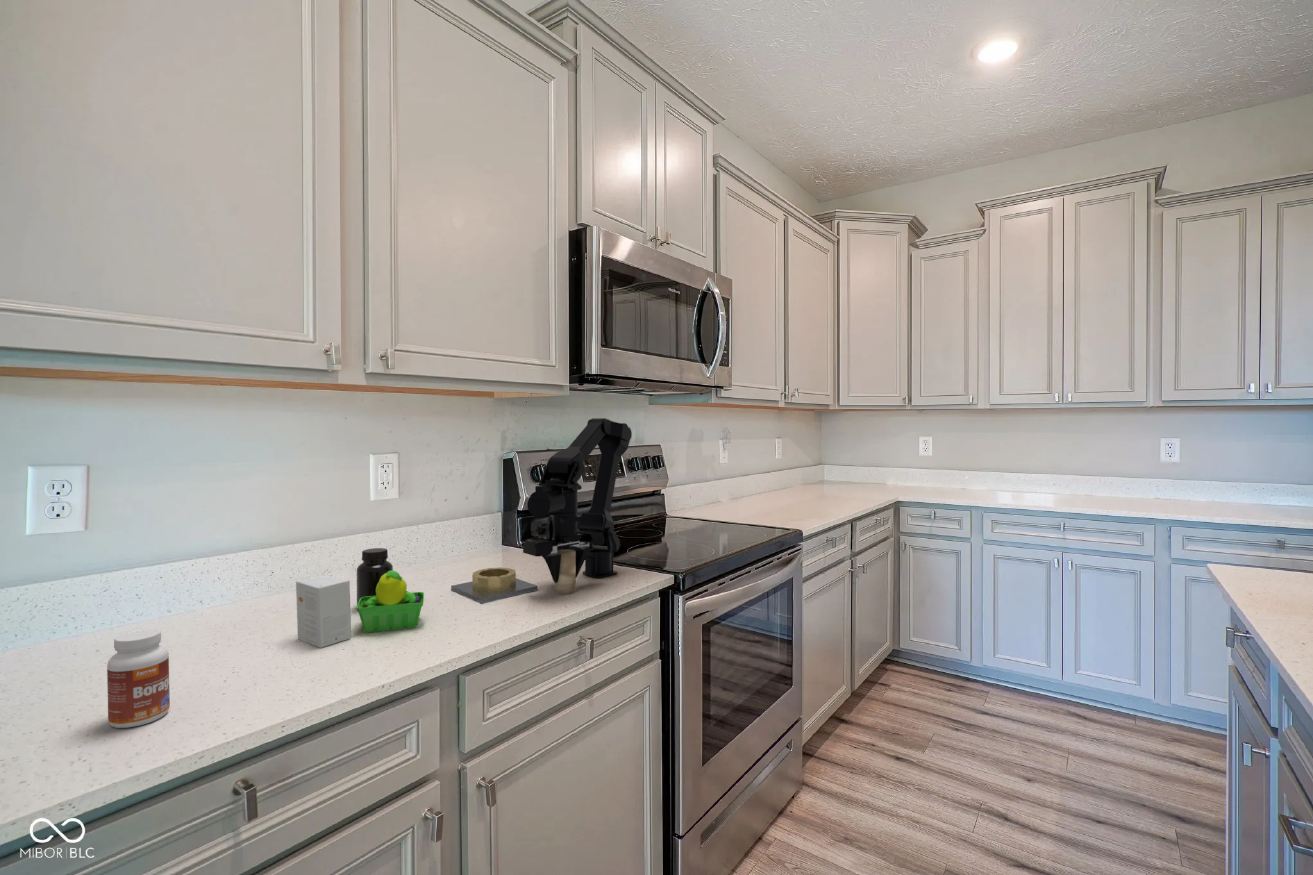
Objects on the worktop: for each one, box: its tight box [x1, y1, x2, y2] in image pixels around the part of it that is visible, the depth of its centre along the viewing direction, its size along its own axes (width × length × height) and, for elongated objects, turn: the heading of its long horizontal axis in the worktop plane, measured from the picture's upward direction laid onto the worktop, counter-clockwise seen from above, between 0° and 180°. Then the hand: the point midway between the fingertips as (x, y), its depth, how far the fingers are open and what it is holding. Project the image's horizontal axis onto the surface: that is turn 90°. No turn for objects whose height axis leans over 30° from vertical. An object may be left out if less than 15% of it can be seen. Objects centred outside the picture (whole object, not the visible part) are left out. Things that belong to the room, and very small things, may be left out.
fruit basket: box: [355, 569, 425, 633], centre depth 114 cm, size 11×9×11 cm
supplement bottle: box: [356, 547, 394, 606], centre depth 125 cm, size 7×7×12 cm
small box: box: [295, 574, 352, 649], centre depth 108 cm, size 8×6×10 cm
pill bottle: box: [106, 628, 171, 729], centre depth 79 cm, size 6×6×11 cm
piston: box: [553, 548, 577, 595], centre depth 137 cm, size 5×5×9 cm
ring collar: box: [450, 566, 539, 604], centre depth 138 cm, size 14×14×4 cm
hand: (565, 580), depth 137 cm, fingers closed on piston, 5 cm apart
